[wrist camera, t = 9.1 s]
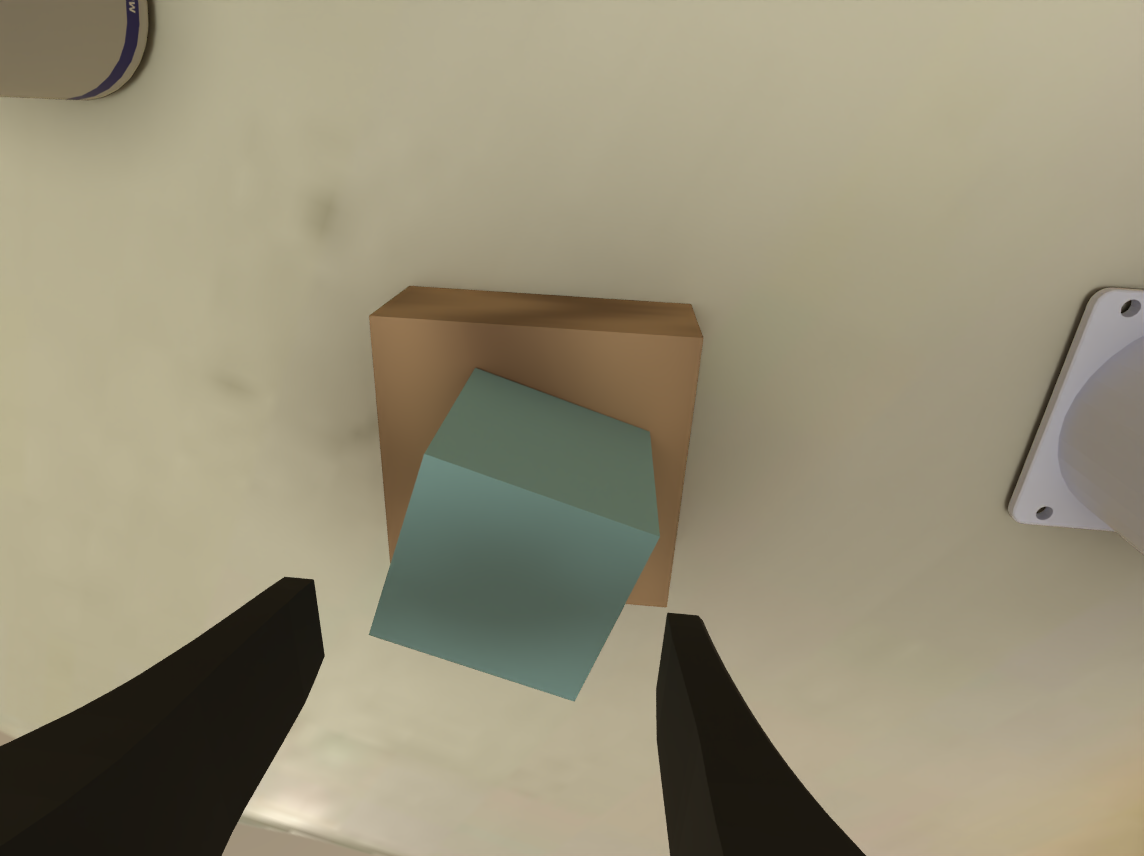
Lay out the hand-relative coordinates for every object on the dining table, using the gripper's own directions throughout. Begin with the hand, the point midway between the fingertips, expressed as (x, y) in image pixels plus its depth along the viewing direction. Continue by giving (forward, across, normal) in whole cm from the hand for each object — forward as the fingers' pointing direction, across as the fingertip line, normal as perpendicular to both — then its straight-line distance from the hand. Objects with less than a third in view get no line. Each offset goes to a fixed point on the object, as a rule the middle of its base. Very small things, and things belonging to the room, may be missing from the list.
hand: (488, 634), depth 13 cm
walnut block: (+11, 0, 0) cm, 11 cm away
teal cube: (+7, 0, 0) cm, 7 cm away
